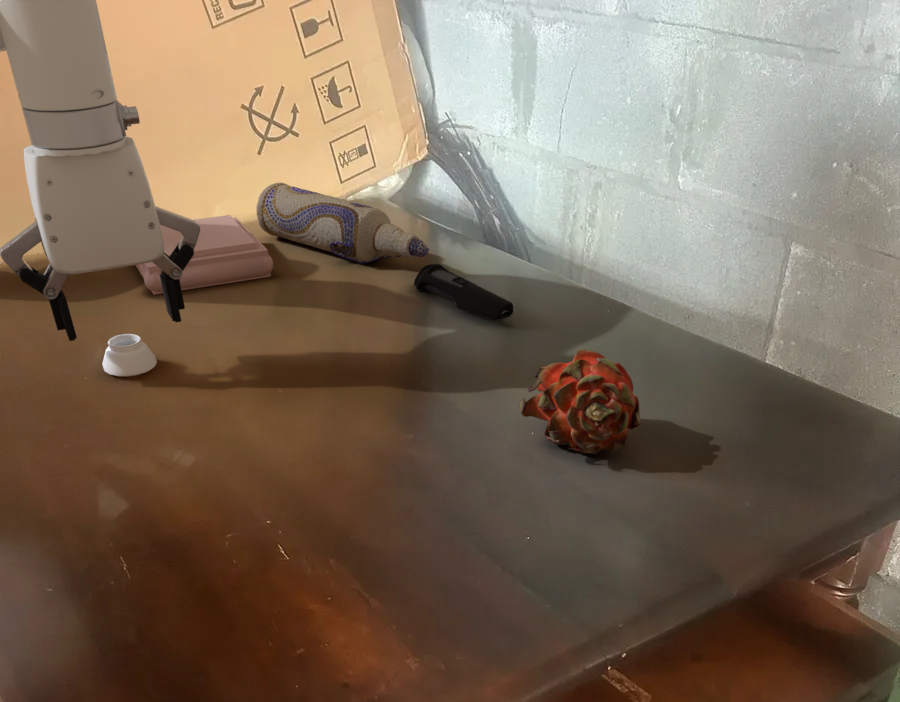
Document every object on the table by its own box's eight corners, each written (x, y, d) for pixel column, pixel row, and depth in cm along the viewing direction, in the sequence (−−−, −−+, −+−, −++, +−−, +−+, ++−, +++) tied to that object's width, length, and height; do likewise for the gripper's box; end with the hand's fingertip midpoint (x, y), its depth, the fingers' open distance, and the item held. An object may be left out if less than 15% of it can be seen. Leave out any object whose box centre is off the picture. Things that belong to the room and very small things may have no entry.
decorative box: (149, 297, 104) (142, 263, 102) (125, 257, 115) (118, 225, 112) (277, 277, 109) (273, 244, 107) (243, 240, 120) (238, 209, 118)
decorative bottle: (255, 242, 120) (248, 188, 115) (297, 228, 124) (292, 176, 120) (404, 285, 107) (403, 227, 103) (444, 269, 112) (445, 212, 108)
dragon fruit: (613, 496, 75) (537, 450, 84) (684, 419, 74) (600, 382, 84) (561, 429, 69) (485, 388, 79) (638, 347, 69) (553, 315, 78)
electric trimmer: (493, 334, 97) (494, 305, 95) (411, 289, 106) (410, 262, 104) (520, 326, 99) (522, 297, 97) (437, 282, 108) (437, 255, 106)
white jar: (140, 353, 92) (95, 368, 90) (134, 325, 90) (87, 340, 88) (167, 368, 90) (121, 384, 87) (161, 340, 88) (113, 355, 85)
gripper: (170, 109, 82) (204, 298, 92) (-39, 130, 76) (23, 329, 86) (189, 125, 76) (223, 324, 87) (-34, 148, 70) (32, 358, 81)
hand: (123, 326), depth 87 cm, fingers open, 9 cm apart
